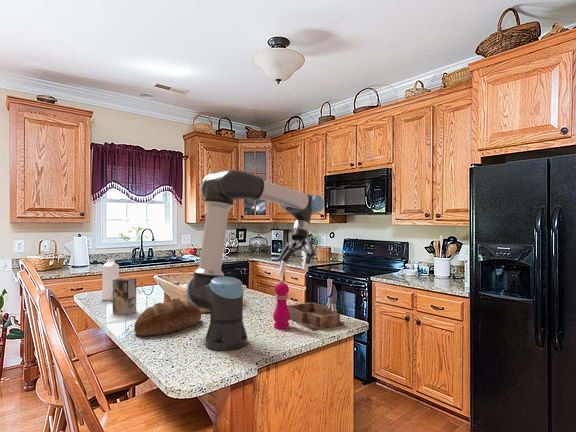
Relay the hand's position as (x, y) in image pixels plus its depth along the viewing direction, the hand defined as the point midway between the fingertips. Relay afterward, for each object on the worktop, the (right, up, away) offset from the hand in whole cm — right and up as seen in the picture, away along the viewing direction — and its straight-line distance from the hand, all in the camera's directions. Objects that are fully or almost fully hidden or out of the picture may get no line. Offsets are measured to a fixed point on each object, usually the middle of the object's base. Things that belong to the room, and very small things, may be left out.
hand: (292, 272), depth 164 cm
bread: (-51, -21, -11) cm, 57 cm away
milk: (-101, -21, +41) cm, 111 cm away
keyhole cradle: (+9, -21, 0) cm, 23 cm away
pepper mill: (-5, -21, -10) cm, 24 cm away
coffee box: (-81, -21, +13) cm, 84 cm away
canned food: (-63, -21, +28) cm, 72 cm away
